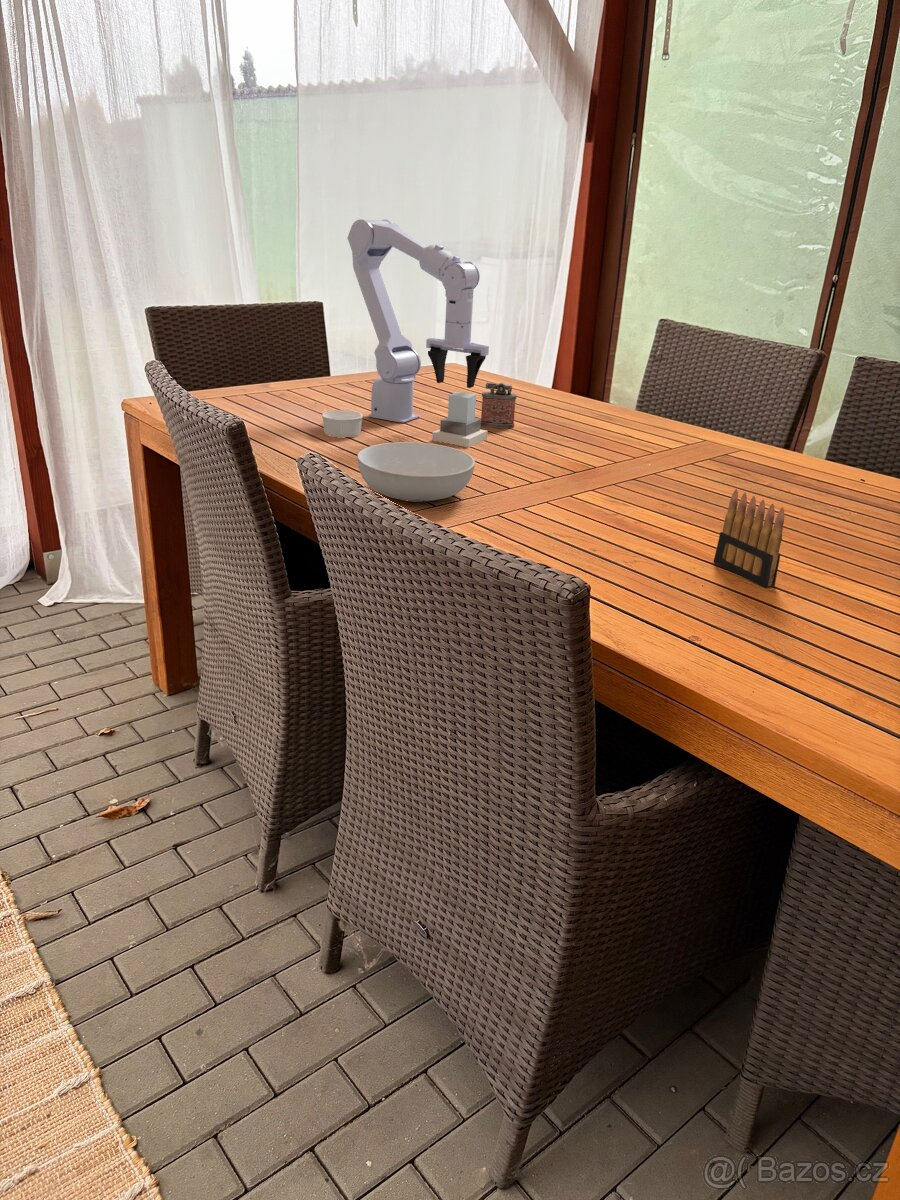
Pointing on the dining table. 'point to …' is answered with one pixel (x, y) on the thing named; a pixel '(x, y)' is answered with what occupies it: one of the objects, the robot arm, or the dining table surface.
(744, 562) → the ammunition clip
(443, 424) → the gray slab
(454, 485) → the serving bowl
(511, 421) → the lighter
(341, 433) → the ramekin
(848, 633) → the dining table surface
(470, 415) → the gray block
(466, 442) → the base slab
